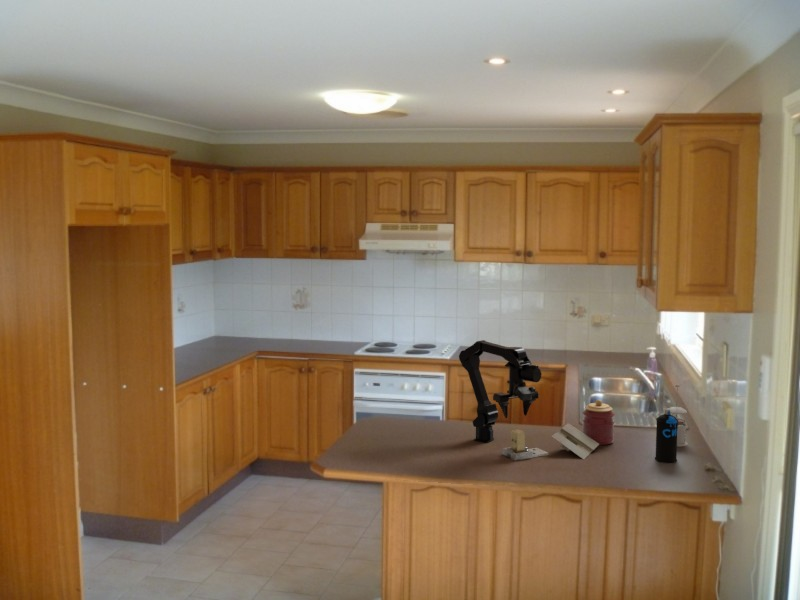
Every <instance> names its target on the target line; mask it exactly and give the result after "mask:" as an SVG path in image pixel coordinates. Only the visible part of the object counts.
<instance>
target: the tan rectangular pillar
mask: <svg viewBox="0 0 800 600" xmlns="http://www.w3.org/2000/svg"><path fill="white" fill-rule="evenodd" d="M525 446H526V432H525V431H523V430H521V429H514V430H513V429H512V430H510V447H511V449H513V452H514V453H522V452H525Z"/></svg>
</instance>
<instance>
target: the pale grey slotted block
mask: <svg viewBox="0 0 800 600" xmlns="http://www.w3.org/2000/svg"><path fill="white" fill-rule="evenodd" d="M551 437H552V438H554V439H555V440H557V441H558V442H559V443H561V445H560V447H561V448H562V449H563V450H565V451H567V452H570V451H571V452H573V453H574V454H575V455H577V456H578V457H579V458H581V459H582V460H585V459H587V458H588V457H589V455H590V454H591V453H592V452H593V451H594V450H596V448H597V447H599V446H600V445H599V443H597V442H596V441H594V440H593V439H591V438H590V437H588V436H587V435H585V434H584V433H583V431H581V430H579V429H578V428H576V427H575V426H574V425H572V424H570V423H569V422H567V423H566V424H565V425H564V426H562V427H561V429H560V430H559V431H556V432H555V433H554V434H552V435H551Z"/></svg>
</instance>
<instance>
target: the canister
mask: <svg viewBox="0 0 800 600" xmlns="http://www.w3.org/2000/svg"><path fill="white" fill-rule="evenodd" d="M584 409H585V410H584V411H582V414H583V419H582V433H584V434H585V435H587V436H588V437H590V438H591V439H593V440H594V441H596V442H597V443H599V445H598V446H602V445H603V446H605V445H611V444H613V443H614V440H615V438H614V437H615V436H614V435H615V434H614V433H615V432H614V431H615V429H614V428H615V426H614V425H615V421H614V417H615V413H614V412H613V410H614V409H613V407H611V405H609V404H607V403H603V401H602V400H601V399H596V400H595V402H591V403H588V404H587V405H584Z"/></svg>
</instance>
